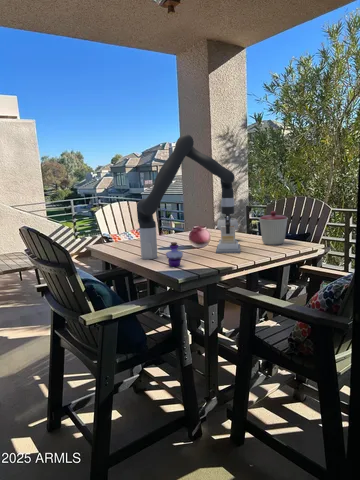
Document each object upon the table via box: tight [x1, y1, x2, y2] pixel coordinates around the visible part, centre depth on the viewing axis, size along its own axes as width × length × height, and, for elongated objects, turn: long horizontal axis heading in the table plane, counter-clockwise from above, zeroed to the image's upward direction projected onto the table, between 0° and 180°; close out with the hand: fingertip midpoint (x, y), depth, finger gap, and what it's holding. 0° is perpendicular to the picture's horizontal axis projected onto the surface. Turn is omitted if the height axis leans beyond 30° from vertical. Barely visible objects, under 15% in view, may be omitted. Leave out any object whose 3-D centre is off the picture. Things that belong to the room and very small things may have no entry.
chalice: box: [217, 217, 239, 242], centre depth 239 cm, size 14×14×15 cm
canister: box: [258, 210, 289, 246], centre depth 222 cm, size 18×18×21 cm
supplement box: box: [220, 226, 236, 244], centre depth 210 cm, size 8×5×13 cm, turn 77°
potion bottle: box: [165, 241, 183, 268], centre depth 176 cm, size 9×9×12 cm
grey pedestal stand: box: [215, 240, 241, 254], centre depth 211 cm, size 22×14×4 cm, turn 171°
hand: (228, 232), depth 210 cm, fingers open, 8 cm apart
